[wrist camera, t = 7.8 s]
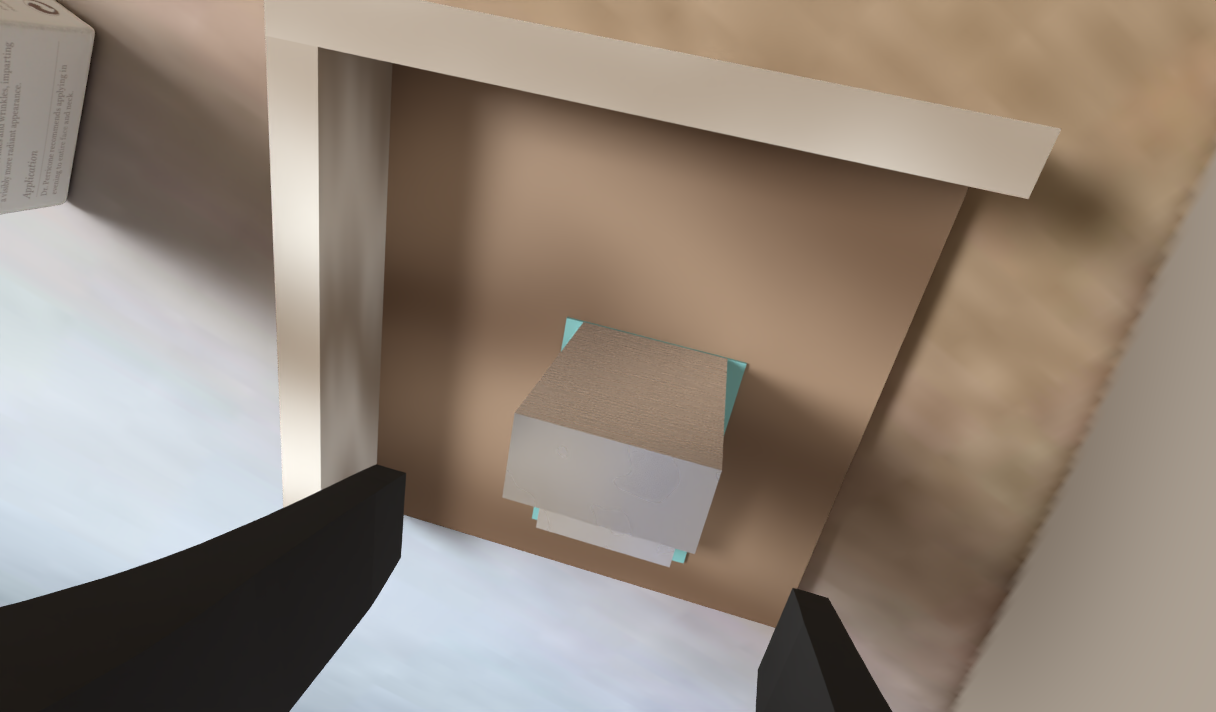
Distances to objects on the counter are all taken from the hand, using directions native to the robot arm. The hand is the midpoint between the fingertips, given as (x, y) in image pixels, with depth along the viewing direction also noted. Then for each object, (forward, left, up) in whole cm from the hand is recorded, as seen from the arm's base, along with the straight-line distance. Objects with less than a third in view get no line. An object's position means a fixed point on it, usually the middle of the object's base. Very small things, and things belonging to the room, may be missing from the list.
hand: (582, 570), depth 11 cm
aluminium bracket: (-1, 0, -7) cm, 7 cm away
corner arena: (+1, +1, -7) cm, 7 cm away
